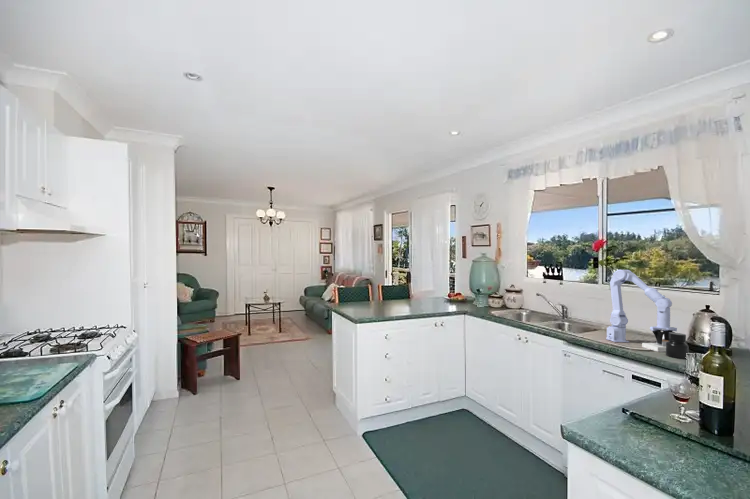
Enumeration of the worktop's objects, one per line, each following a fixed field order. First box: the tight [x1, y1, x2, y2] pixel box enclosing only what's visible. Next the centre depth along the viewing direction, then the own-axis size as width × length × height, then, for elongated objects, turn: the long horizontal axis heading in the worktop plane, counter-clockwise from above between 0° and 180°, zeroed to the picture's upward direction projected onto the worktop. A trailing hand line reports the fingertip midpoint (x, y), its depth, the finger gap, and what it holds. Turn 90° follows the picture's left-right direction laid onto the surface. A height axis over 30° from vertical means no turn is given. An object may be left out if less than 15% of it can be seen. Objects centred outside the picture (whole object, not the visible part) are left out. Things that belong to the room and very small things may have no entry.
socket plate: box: [641, 342, 666, 353], centre depth 195 cm, size 16×10×3 cm, turn 95°
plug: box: [656, 339, 669, 347], centre depth 196 cm, size 4×4×5 cm
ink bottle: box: [665, 331, 690, 360], centre depth 180 cm, size 10×9×12 cm
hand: (663, 343), depth 195 cm, fingers closed on plug, 4 cm apart
